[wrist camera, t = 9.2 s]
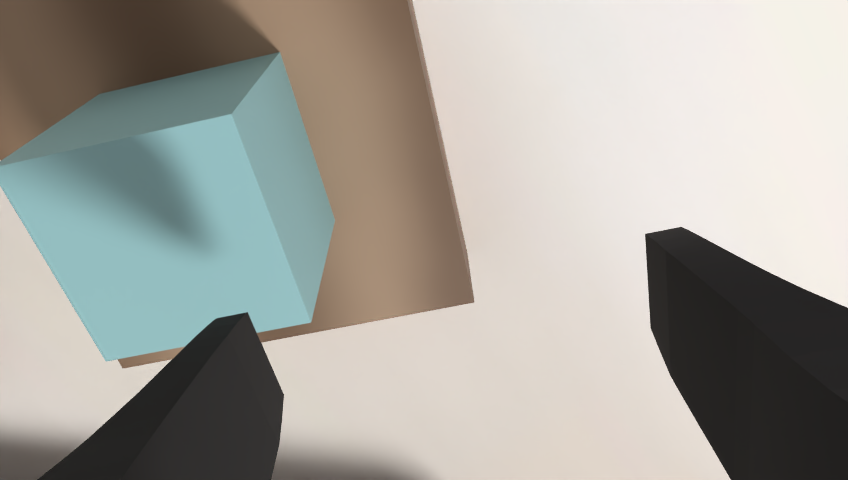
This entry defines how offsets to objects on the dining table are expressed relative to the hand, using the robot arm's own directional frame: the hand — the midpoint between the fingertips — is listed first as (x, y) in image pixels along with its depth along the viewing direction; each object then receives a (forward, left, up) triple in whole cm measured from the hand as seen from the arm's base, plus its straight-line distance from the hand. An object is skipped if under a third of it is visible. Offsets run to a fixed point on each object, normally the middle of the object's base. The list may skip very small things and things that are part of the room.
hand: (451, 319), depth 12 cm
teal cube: (+6, -1, -7) cm, 10 cm away
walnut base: (+6, -1, -10) cm, 12 cm away
